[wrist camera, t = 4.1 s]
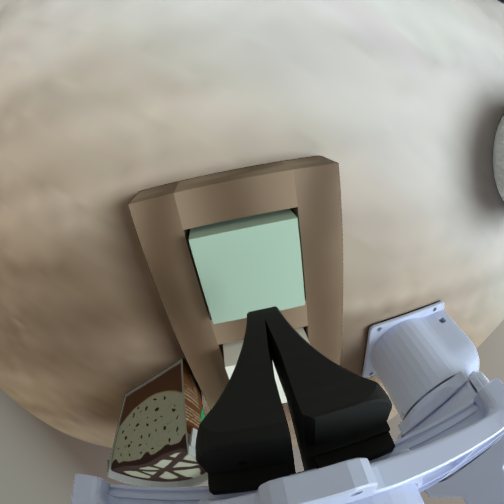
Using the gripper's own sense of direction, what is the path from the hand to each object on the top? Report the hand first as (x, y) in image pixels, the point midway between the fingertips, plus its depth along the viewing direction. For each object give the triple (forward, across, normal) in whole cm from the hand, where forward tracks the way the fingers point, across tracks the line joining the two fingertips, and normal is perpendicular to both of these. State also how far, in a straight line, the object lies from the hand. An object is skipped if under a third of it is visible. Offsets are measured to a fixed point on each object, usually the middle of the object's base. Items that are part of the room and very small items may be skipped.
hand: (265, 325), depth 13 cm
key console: (+8, 0, +4) cm, 10 cm away
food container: (+9, +10, +14) cm, 20 cm away
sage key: (+7, 0, 0) cm, 7 cm away
